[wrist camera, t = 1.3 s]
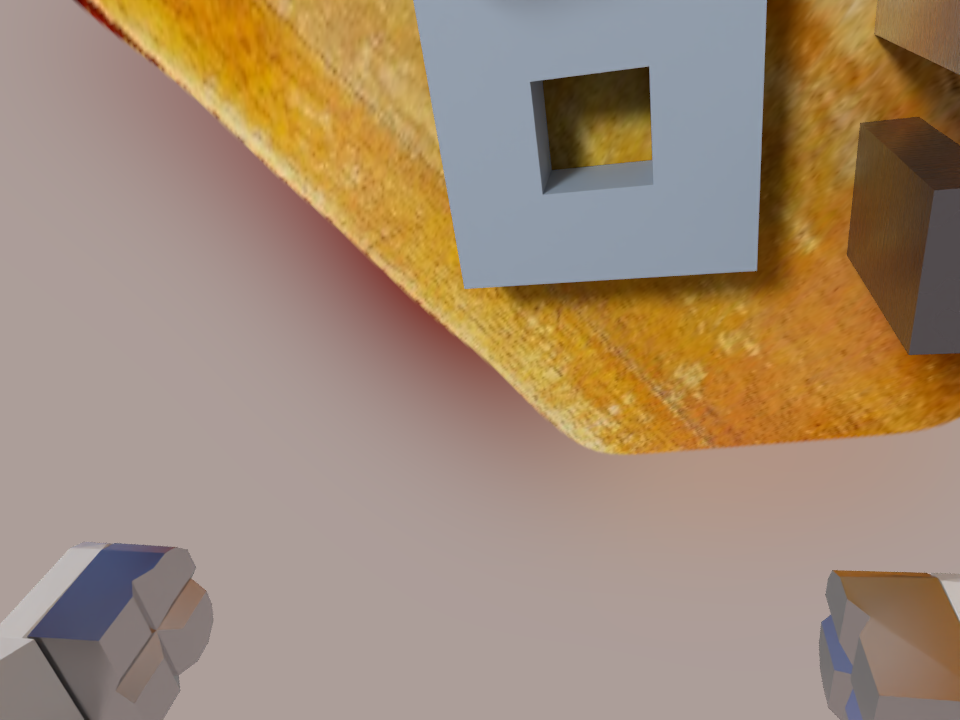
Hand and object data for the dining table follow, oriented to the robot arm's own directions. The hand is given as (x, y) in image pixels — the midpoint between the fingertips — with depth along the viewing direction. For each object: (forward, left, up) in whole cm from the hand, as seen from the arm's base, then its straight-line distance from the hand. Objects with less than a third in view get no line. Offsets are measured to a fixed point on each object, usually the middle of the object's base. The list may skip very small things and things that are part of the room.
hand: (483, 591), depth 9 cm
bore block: (0, +1, -30) cm, 30 cm away
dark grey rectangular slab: (-13, +6, -31) cm, 34 cm away
